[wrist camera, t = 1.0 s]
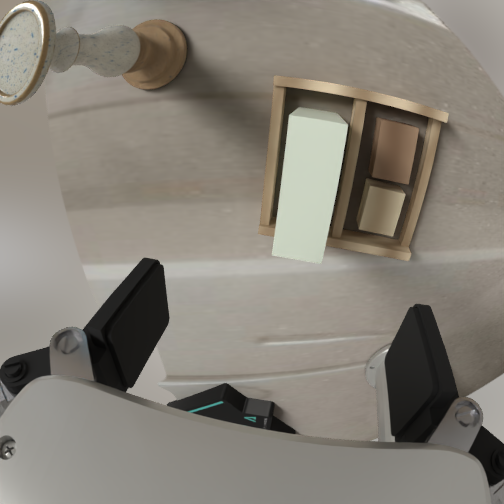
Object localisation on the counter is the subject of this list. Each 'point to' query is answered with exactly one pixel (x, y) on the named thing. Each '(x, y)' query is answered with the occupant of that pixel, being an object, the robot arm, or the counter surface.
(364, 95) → the oak rack
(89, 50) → the candle holder
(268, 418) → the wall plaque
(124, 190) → the counter surface
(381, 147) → the walnut offcut
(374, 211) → the pine offcut
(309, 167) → the sage panel
